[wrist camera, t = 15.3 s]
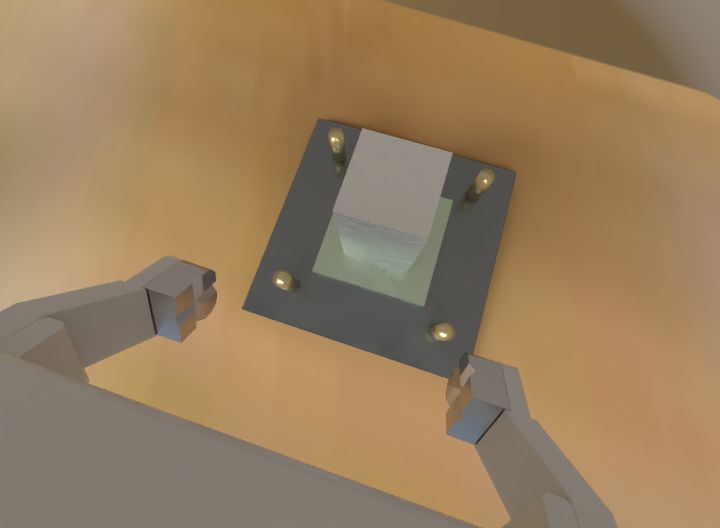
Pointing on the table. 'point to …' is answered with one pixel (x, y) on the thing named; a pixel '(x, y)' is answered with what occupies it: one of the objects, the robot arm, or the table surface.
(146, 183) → the table surface
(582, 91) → the table surface
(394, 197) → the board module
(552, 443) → the robot arm
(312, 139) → the mounting plate
